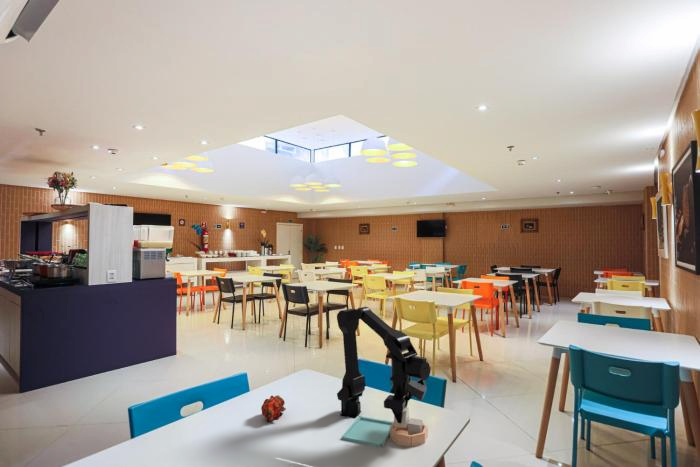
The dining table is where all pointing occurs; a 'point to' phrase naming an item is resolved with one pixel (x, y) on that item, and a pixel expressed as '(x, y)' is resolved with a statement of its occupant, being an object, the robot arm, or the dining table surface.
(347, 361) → the robot arm
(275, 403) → the dragon fruit
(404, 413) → the grey cardboard cube
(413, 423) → the cube
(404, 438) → the bowl
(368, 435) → the tray
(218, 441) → the dining table surface
